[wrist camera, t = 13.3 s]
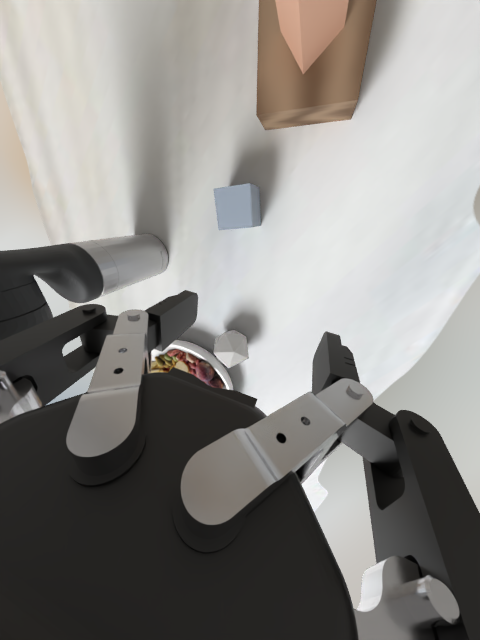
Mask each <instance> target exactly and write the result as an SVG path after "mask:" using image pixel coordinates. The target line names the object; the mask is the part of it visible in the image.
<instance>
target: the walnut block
mask: <svg viewBox="0 0 480 640" xmlns="http://www.w3.org/2000/svg"><path fill="white" fill-rule="evenodd" d="M376 1H377V0H349V2H348V8H347V14H346V20H345V26H344V28H343V29H342V30H341V31H340V33H339V34H338V35H337V36H336V37H335V38H334V40H333V41H332V42H331V43H330V44H329V45H328V46H327V48H326V49H325V50H324V51H323V52H322V53H321V55H320V56H319V57H318V58H317V59H316V60H315V62H314V63H313V64H312V65H311V66H310V67H309V68H308V70H307V71H306V72H305V73H304V74H303V73H302V71H301V69H300V67H299V65H298V63H297V62H296V60H295V58H294V56H293V54H292V52H291V50H290V48H289V46H288V44H287V43H286V41H285V39H284V37H283V35H282V33H281V31H280V25H279V19H278V13H277V8H276V2H275V0H259V24H258V70H257V117H258V118H259V120H260V122H261V123H262V125H263V127H264V129H265V130H271V129H279V128H287V127H294V126H302V125H310V124H318V123H325V122H333V121H341V120H349V119H351V117H352V115H353V112H354V109H355V107H356V104H357V101H358V97H359V92H360V86H361V81H362V76H363V70H364V65H365V60H366V54H367V49H368V44H369V38H370V33H371V28H372V22H373V17H374V12H375V6H376Z"/></svg>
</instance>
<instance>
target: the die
mask: <svg viewBox="0 0 480 640" xmlns="http://www.w3.org/2000/svg"><path fill="white" fill-rule="evenodd" d="M214 354H215V355H216V357H217V359H219V360H220V361H221V362H222V363H223V364H224V365H226V366H227V367H228V368H230V367H232V366H234V365H237V364H239V363H241V362H243V361H245V360H247V359H249V357H248V346H247V338H246V336H244V335H242V334H241V333H239V332H237V331H235V330H231V331H228V332H225V333H223V334H222V335H220V336H218V337H217V338H215V344H214Z"/></svg>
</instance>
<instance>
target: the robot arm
mask: <svg viewBox="0 0 480 640" xmlns="http://www.w3.org/2000/svg"><path fill="white" fill-rule="evenodd" d="M167 265H168V254H167V251H166V248H165V246H164V245H163V243H162V242H161V241H160V240H159V239H158V238H157V237H155V236H153V235H151V234H141V235H132V236H124V237H116V238H108V239H99V240H91V241H84V242H76V243H67V244H60V245H53V246H47V247H39V248H30V249H20V250H8V251H0V640H480V513H479V511H478V509H477V507H476V505H475V503H474V501H473V499H472V497H471V495H470V494H469V491H468V489H467V487H466V485H465V484H464V481H463V479H462V477H461V475H460V473H459V471H458V469H457V467H456V465H455V463H454V461H453V459H452V457H451V455H450V453H449V451H448V449H447V447H446V445H445V444H444V441H443V439H442V437H441V436H440V434H439V432H438V431H437V429H436V428H435V427H434V426H433V425H432V424H431V423H430V422H428V421H427V420H426V419H424V418H423V417H421V416H419V415H417V414H416V413H414V412H411V411H407V410H400V411H398V413H397V414H396V415H394V414H392V413H390V412H388V411H387V410H385V409H383V408H381V407H380V406H378V405H376V404H375V403H374V402H373V396H372V394H371V393H370V391H369V390H368V389H367V388H366V387H365V386H363V385H362V384H360V381H359V377H358V373H357V369H356V367H355V366H356V365H355V361H354V358H353V354H352V352H351V351H350V350H349V349H348V347H346V346H343V345H341V339H340V336H339V335H336V334H333V333H329V332H325V333H324V334H323V337H322V339H321V341H320V343H319V346H318V348H317V350H316V352H315V355H314V359H313V373H312V392H308V393H306V394H304V395H302V396H301V397H299V398H297V399H296V400H294V401H292V402H291V403H289V404H287V405H285V406H284V407H282V408H280V409H279V410H277V411H275V412H274V413H272V414H270V415H269V416H266V415H265V414H264V413H263V412H262V411H261V410H260V409H258V408H257V407H256V406H255V405H256V401H257V399H256V398H253V397H251V396H248V395H245V394H243V393H240V392H237V391H234V390H228V389H222V388H215V387H211V386H209V385H207V384H206V383H204V382H203V381H202V380H200V379H199V378H197V377H196V376H194V375H193V374H190V373H188V372H185V371H183V370H180V369H177V368H175V367H173V368H172V369H171V370H170V371H169V372H168V373H166V372H154V373H151V363H152V352H151V351H152V350H153V349H155V350H158V351H161V352H163V351H164V350H165V349H166V348H167V347H168V346H169V345H170V344H171V343H173V342H174V341H175V340H176V339H177V338H178V337H179V336H180V335H181V334H183V333H184V332H185V331H186V330H187V329H188V328H189V327H190V326H191V325H192V324H194V322H195V320H196V317H197V305H198V295H197V293H194V292H190V291H187V290H185V291H183V292H181V293H180V294H178V295H175V296H171V297H168V298H166V299H164V300H163V301H161V302H159V303H158V304H156V305H154V306H152V307H150V308H149V309H147V310H145V311H143V310H128V311H125V312H122V313H121V314H120V315H119V316H114V315H107V314H106V309H105V307H104V306H102V305H98V304H88V305H83V306H79V307H77V308H75V309H72V310H70V311H68V312H65V313H63V314H61V315H59V316H57V317H54V318H53V315H52V312H51V310H50V308H49V306H48V304H47V302H46V300H45V298H44V296H43V294H42V292H41V290H40V288H39V286H38V284H37V282H36V280H35V279H34V276H33V275H36V276H38V277H39V278H41V279H42V280H43V281H45V282H46V283H47V284H48V285H49V286H50V287H51V288H53V289H54V290H55V291H56V292H57V293H58V294H59V295H61V296H62V297H64V298H65V299H67V300H69V301H72V302H75V303H85V302H88V301H91V300H94V299H96V298H99V297H101V296H104V295H106V294H109V293H111V292H114V291H116V290H119V289H122V288H124V287H127V286H129V285H132V284H135V283H137V282H140V281H142V280H145V279H148V278H150V277H153V276H155V275H158V274H161V273H162V272H164V271H165V270H166V268H167ZM78 336H80V338H81V341H82V346H80V347H79V348H77V349H76V350H74V351H72V352H71V353H69V354H67V355H66V356H64V357H63V354H62V349H63V347H64V345H65V344H66V343H68V342H69V341H71V340H73V339H75V338H77V337H78ZM95 367H96V368H95ZM94 368H95V371H94V374H93V377H92V380H91V383H90V386H89V388H88V391H87V392H86V393H84V394H81V395H77V396H74V397H71V398H68V399H65V400H62V401H59V402H55V403H52V404H50V405H46V404H48V403H49V402H50V401H51V400H53V399H54V398H55V397H57V396H58V395H59V394H61V393H62V392H63V391H65V390H66V389H67V388H69V387H70V386H71V385H72V384H74V383H75V382H76V381H78V380H79V379H80V378H82V377H83V376H84V375H86V374H87V373H88V372H90V371H91V370H92V369H94ZM45 405H46V406H45ZM342 443H344V444H345V445H347V446H348V447H350V448H351V449H352V450H354V451H355V452H357V453H358V454H360V455H361V456H362V457H363V463H364V471H365V478H366V486H367V493H368V500H369V509H370V516H371V524H372V531H373V538H374V547H375V554H376V562H377V564H375V565H373V566H371V567H369V568H368V569H367V570H366V571H365V573H364V575H363V577H362V586H361V587H362V588H361V600H360V604H359V607H358V609H357V610H356V609H354V608H353V605H352V601H351V598H350V595H349V591H348V588H347V585H346V583H345V580H344V577H343V575H342V573H341V570H340V568H339V566H338V564H337V562H336V559H335V557H334V555H333V553H332V551H331V549H330V546H329V544H328V542H327V540H326V538H325V535H324V533H323V531H322V529H321V527H320V525H319V522H318V520H317V518H316V516H315V513H314V511H313V509H312V507H311V505H310V503H309V500H308V498H307V496H306V494H305V492H304V489H303V487H302V485H301V484H302V483H303V482H304V481H305V480H306V479H307V478H308V477H309V476H310V475H311V474H312V472H313V471H314V470H315V469H316V468H317V467H318V466H319V465H320V464H321V463H322V462H323V461H324V460H325V459H326V458H327V457H328V456H329V455H330V454H331V453H332V452H334V451H335V450H336V449H337V448H338V447H339V446H340V445H341V444H342Z"/></svg>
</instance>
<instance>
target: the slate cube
mask: <svg viewBox="0 0 480 640" xmlns="http://www.w3.org/2000/svg"><path fill="white" fill-rule="evenodd" d="M214 196H215V204H216V212H217V220H218V228H219V230H226V229H238V228H249V227H256V226H260V225H261V214H260V188H259V187H258V186H256V185H253V184H251V183H247V184H241V185H235V186H228V187H222V188H216V189H214Z"/></svg>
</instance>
